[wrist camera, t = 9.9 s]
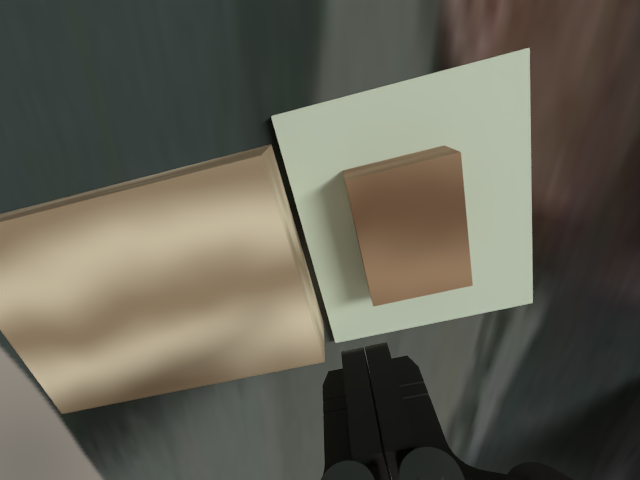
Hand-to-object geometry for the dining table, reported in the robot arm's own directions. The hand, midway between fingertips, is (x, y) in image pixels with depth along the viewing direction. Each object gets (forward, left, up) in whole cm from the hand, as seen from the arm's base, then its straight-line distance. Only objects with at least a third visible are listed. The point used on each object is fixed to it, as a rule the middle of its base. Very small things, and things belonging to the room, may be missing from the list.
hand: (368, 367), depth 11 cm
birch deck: (0, -12, -12) cm, 17 cm away
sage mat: (0, +5, -12) cm, 13 cm away
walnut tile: (0, +4, -10) cm, 11 cm away
